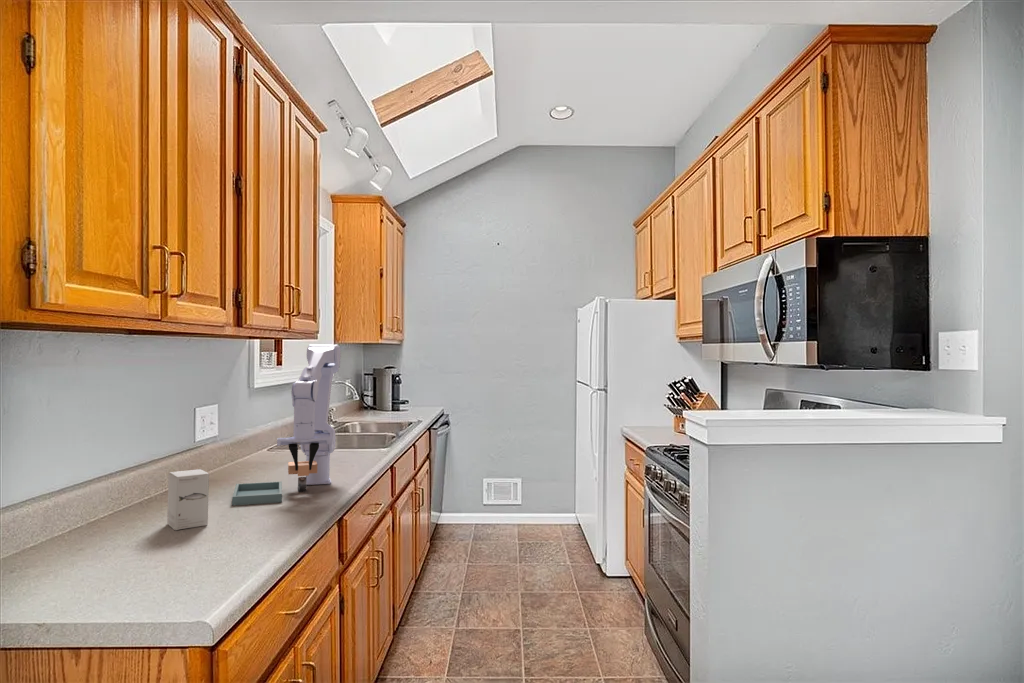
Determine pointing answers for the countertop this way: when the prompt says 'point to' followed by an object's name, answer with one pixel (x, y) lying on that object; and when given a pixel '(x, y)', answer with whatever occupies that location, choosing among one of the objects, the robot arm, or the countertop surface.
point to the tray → (257, 493)
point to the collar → (302, 468)
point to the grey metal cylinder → (302, 484)
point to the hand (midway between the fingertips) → (303, 469)
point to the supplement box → (188, 499)
